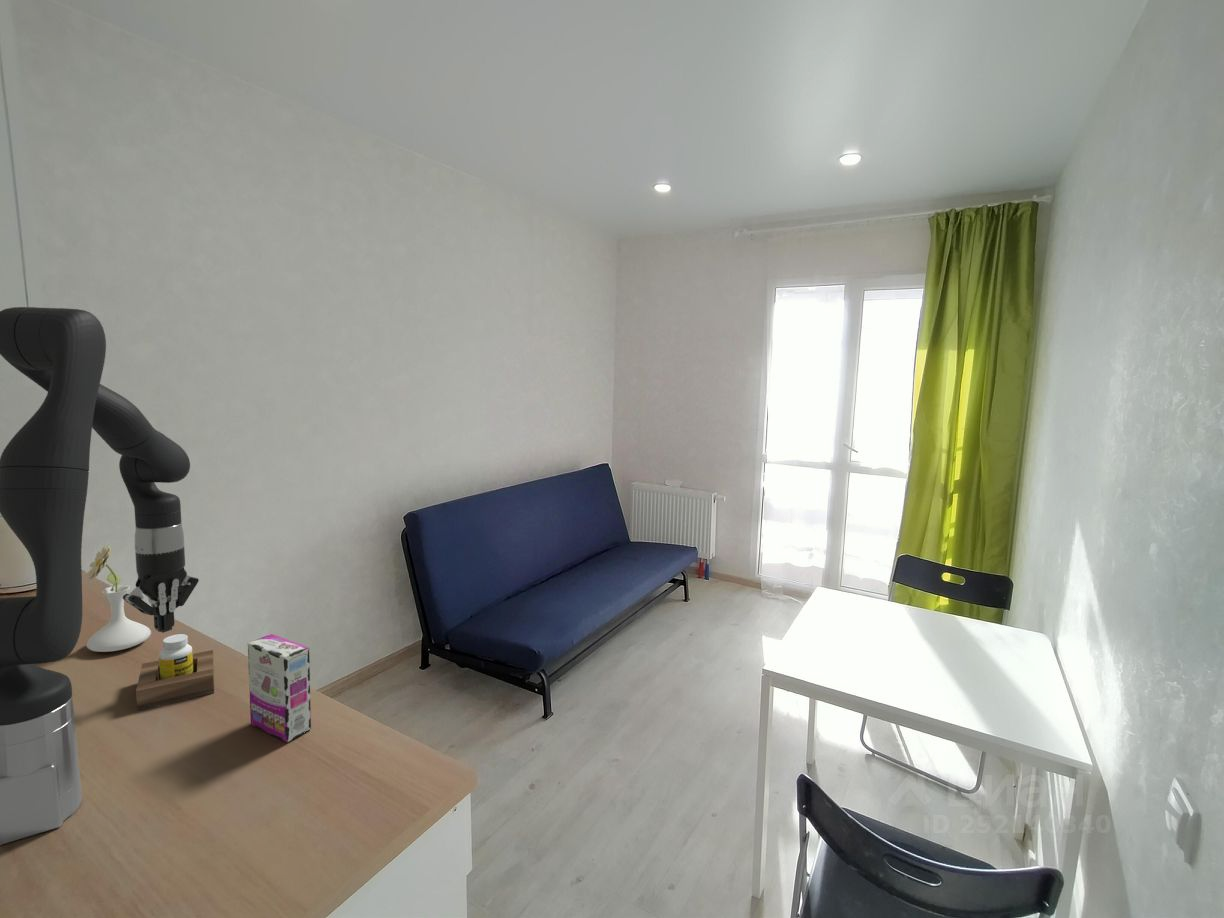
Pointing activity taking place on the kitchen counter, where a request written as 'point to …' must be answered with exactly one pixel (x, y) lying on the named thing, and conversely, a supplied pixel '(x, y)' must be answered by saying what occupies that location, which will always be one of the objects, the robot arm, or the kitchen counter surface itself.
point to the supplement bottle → (175, 657)
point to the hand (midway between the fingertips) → (165, 630)
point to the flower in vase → (114, 613)
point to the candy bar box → (279, 687)
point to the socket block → (175, 682)
